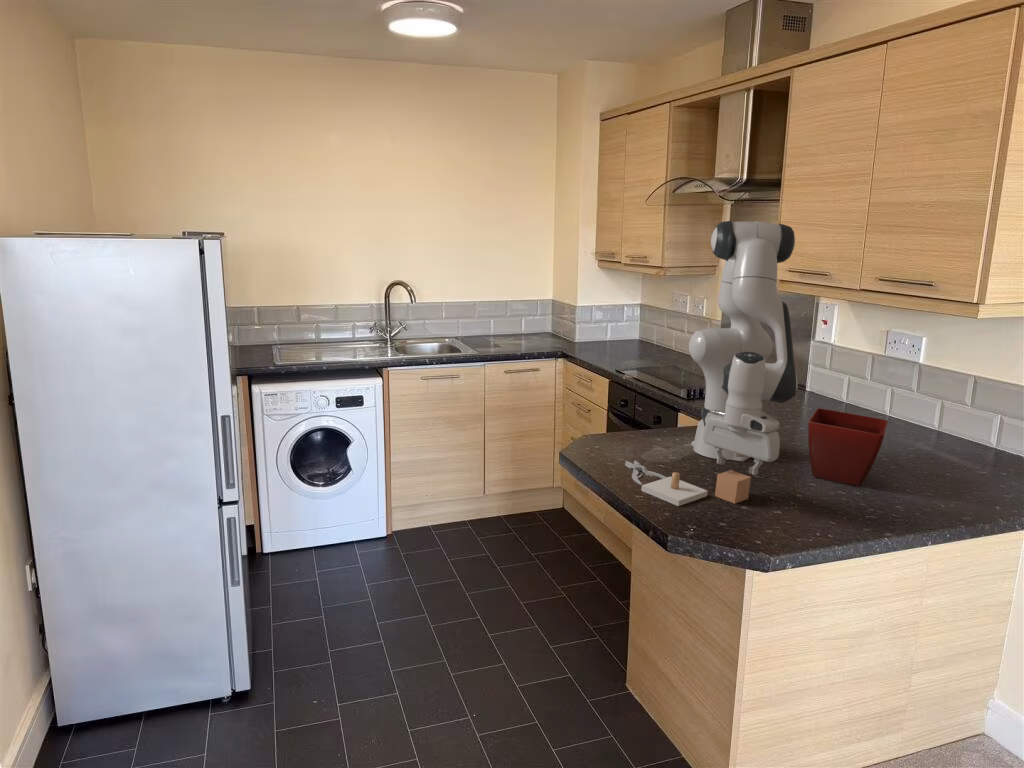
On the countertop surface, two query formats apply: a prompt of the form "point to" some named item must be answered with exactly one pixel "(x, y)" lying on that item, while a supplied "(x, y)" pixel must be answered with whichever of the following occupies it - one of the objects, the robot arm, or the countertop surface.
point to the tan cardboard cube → (732, 486)
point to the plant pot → (844, 445)
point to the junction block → (674, 490)
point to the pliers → (638, 467)
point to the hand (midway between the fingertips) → (736, 468)
